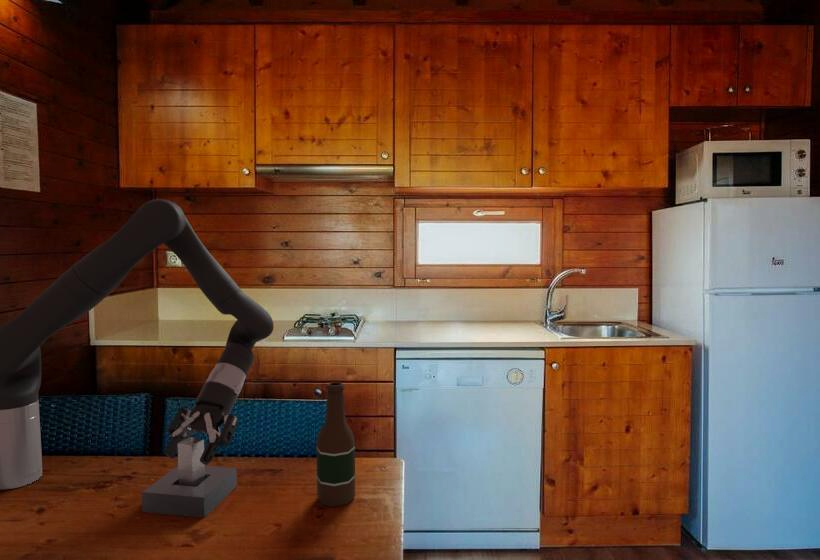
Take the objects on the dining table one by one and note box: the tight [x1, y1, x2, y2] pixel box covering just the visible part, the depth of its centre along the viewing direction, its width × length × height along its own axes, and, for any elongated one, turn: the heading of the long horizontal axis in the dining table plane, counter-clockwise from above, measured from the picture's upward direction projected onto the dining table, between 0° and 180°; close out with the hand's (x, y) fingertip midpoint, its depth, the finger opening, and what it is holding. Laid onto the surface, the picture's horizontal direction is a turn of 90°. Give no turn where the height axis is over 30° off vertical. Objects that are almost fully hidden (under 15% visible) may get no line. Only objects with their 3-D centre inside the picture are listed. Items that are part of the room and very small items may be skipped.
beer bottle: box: [316, 381, 356, 508], centre depth 109 cm, size 8×8×24 cm
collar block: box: [141, 465, 238, 518], centre depth 109 cm, size 13×13×4 cm
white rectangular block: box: [177, 436, 206, 487], centre depth 109 cm, size 4×4×12 cm
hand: (186, 460), depth 108 cm, fingers open, 8 cm apart
